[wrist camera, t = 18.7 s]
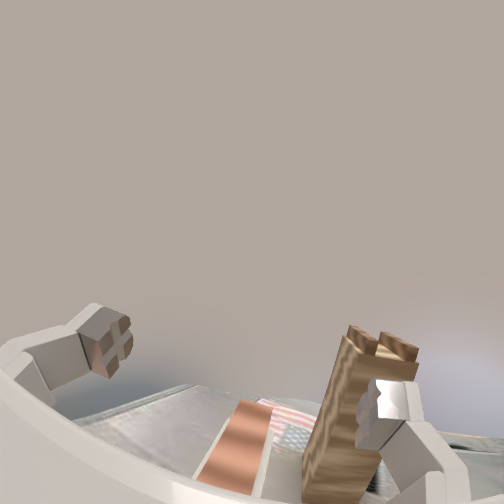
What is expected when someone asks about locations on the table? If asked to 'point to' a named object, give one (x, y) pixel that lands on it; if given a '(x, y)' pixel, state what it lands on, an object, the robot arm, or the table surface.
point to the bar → (238, 449)
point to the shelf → (262, 465)
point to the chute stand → (350, 417)
